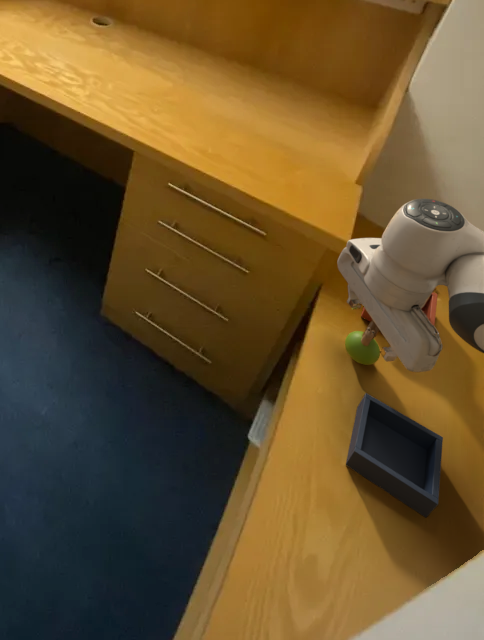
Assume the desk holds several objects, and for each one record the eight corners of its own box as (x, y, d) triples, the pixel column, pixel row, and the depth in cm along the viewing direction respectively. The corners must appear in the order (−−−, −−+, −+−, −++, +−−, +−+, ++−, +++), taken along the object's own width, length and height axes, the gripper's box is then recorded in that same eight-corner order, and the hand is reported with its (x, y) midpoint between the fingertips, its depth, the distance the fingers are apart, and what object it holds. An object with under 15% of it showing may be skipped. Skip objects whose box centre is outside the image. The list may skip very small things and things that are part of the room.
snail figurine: (334, 358, 94) (354, 319, 88) (347, 336, 98) (367, 297, 92) (366, 381, 91) (388, 342, 85) (378, 357, 94) (401, 317, 88)
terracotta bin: (369, 280, 108) (376, 266, 106) (429, 308, 103) (437, 294, 100) (360, 317, 101) (368, 302, 99) (424, 349, 96) (433, 335, 93)
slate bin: (357, 406, 87) (365, 392, 85) (431, 451, 81) (443, 437, 79) (345, 465, 80) (354, 451, 78) (426, 518, 74) (438, 504, 72)
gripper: (465, 341, 75) (429, 391, 81) (375, 231, 92) (351, 279, 99) (425, 344, 74) (391, 394, 81) (342, 232, 92) (320, 281, 99)
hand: (369, 330), depth 90 cm, fingers open, 8 cm apart
